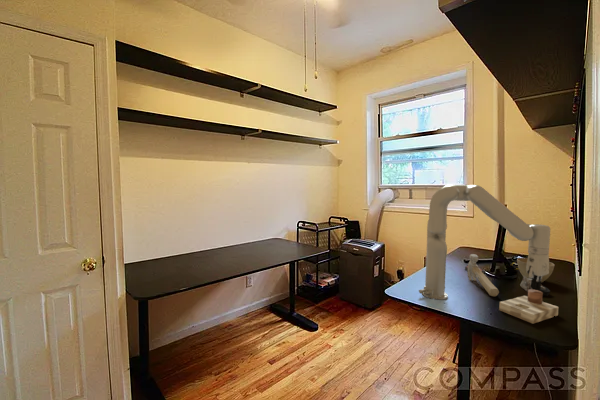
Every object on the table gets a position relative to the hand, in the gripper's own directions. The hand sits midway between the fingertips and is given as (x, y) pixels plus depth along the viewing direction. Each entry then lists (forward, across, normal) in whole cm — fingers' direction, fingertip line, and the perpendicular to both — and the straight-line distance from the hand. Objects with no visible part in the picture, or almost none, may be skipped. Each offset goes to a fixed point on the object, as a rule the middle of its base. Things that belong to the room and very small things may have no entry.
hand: (535, 288), depth 135 cm
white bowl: (+11, +50, +25) cm, 57 cm away
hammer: (+11, +7, +30) cm, 33 cm away
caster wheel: (+11, +29, +14) cm, 34 cm away
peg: (+10, 0, 0) cm, 10 cm away
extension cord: (+12, +71, +48) cm, 87 cm away
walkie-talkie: (+12, +32, +53) cm, 63 cm away
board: (+11, -5, 0) cm, 12 cm away
